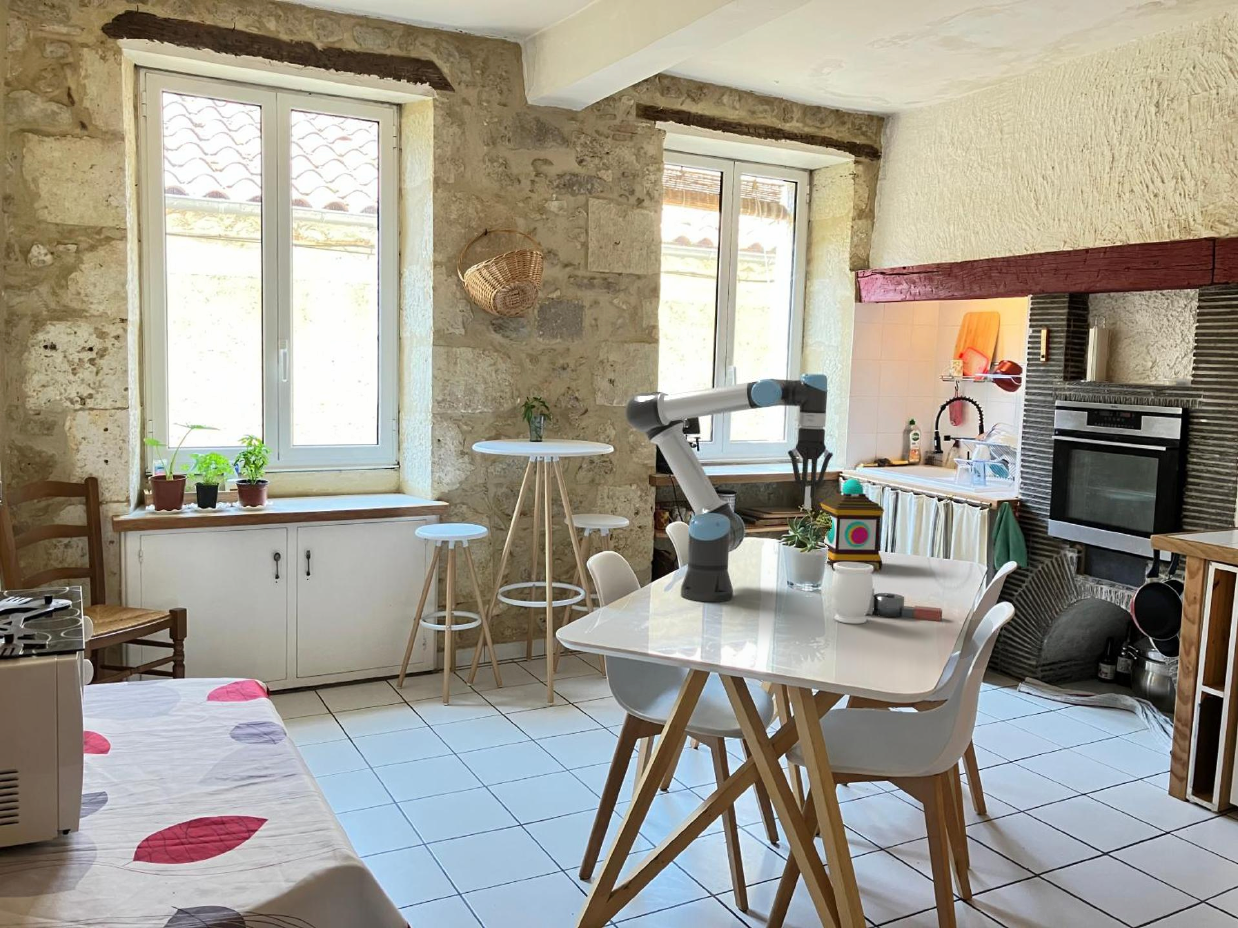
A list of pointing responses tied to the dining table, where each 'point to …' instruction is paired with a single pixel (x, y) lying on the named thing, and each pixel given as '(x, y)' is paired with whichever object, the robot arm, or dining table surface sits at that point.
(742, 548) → the dining table surface
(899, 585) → the dining table surface
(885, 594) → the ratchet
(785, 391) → the robot arm
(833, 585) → the jar
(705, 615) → the dining table surface
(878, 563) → the decorative lantern
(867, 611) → the grey cube
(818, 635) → the dining table surface
